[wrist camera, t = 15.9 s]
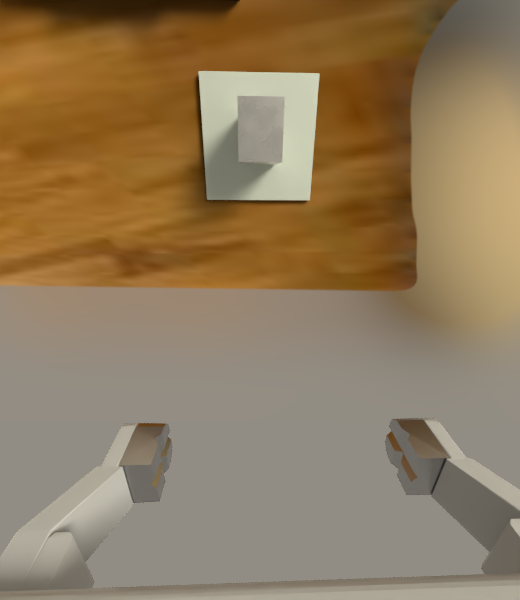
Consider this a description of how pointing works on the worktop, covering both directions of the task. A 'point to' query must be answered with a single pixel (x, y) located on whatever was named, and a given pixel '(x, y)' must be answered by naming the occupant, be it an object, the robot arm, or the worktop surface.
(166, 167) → the worktop surface
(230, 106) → the cutting board
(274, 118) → the grey rectangular block
